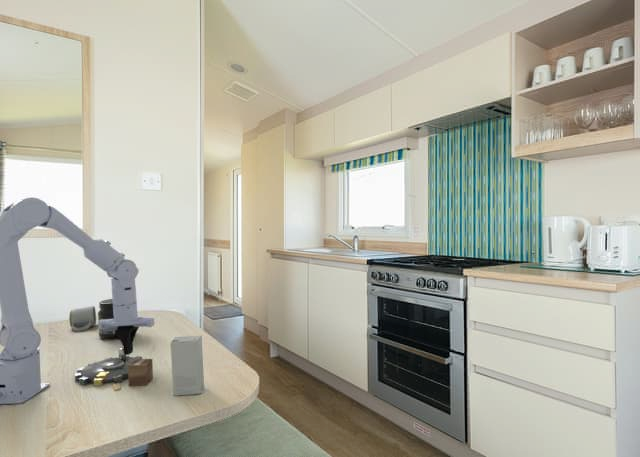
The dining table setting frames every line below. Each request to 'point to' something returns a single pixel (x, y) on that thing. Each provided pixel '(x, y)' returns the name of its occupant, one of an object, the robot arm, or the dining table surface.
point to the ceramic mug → (82, 318)
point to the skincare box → (187, 365)
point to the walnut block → (140, 372)
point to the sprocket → (105, 370)
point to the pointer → (116, 386)
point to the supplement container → (106, 313)
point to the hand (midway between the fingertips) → (128, 353)
